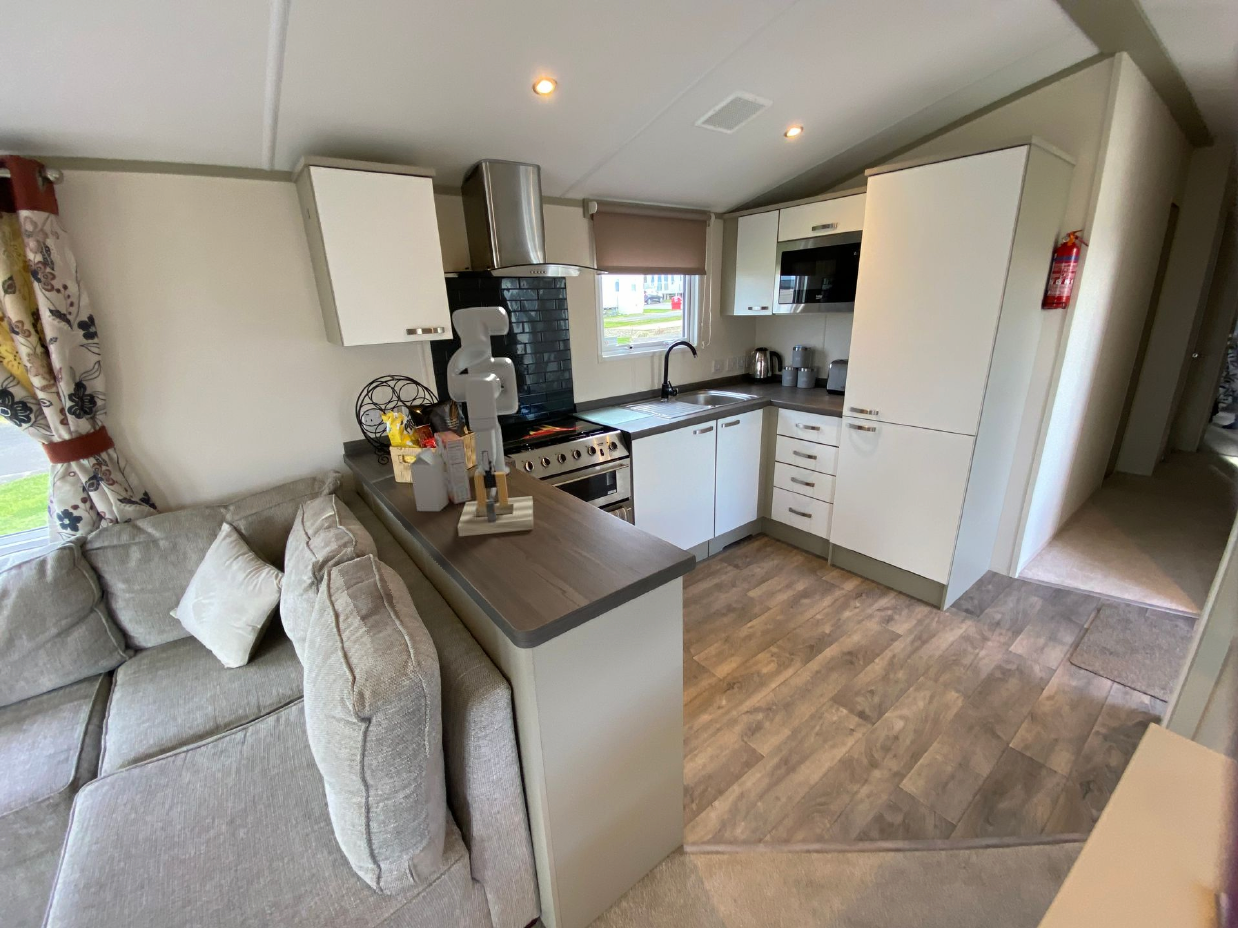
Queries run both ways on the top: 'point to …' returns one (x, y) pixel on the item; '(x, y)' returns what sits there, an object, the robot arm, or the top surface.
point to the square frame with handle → (493, 523)
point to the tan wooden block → (482, 491)
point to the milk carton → (429, 481)
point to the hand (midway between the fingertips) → (491, 485)
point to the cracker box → (454, 466)
